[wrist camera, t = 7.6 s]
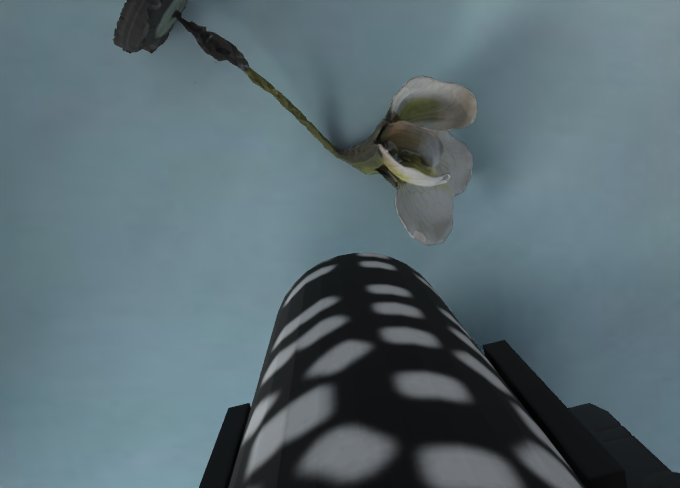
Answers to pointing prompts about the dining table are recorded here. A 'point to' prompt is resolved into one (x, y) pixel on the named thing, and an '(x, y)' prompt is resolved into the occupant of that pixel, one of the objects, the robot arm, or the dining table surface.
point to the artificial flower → (382, 146)
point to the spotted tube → (384, 393)
